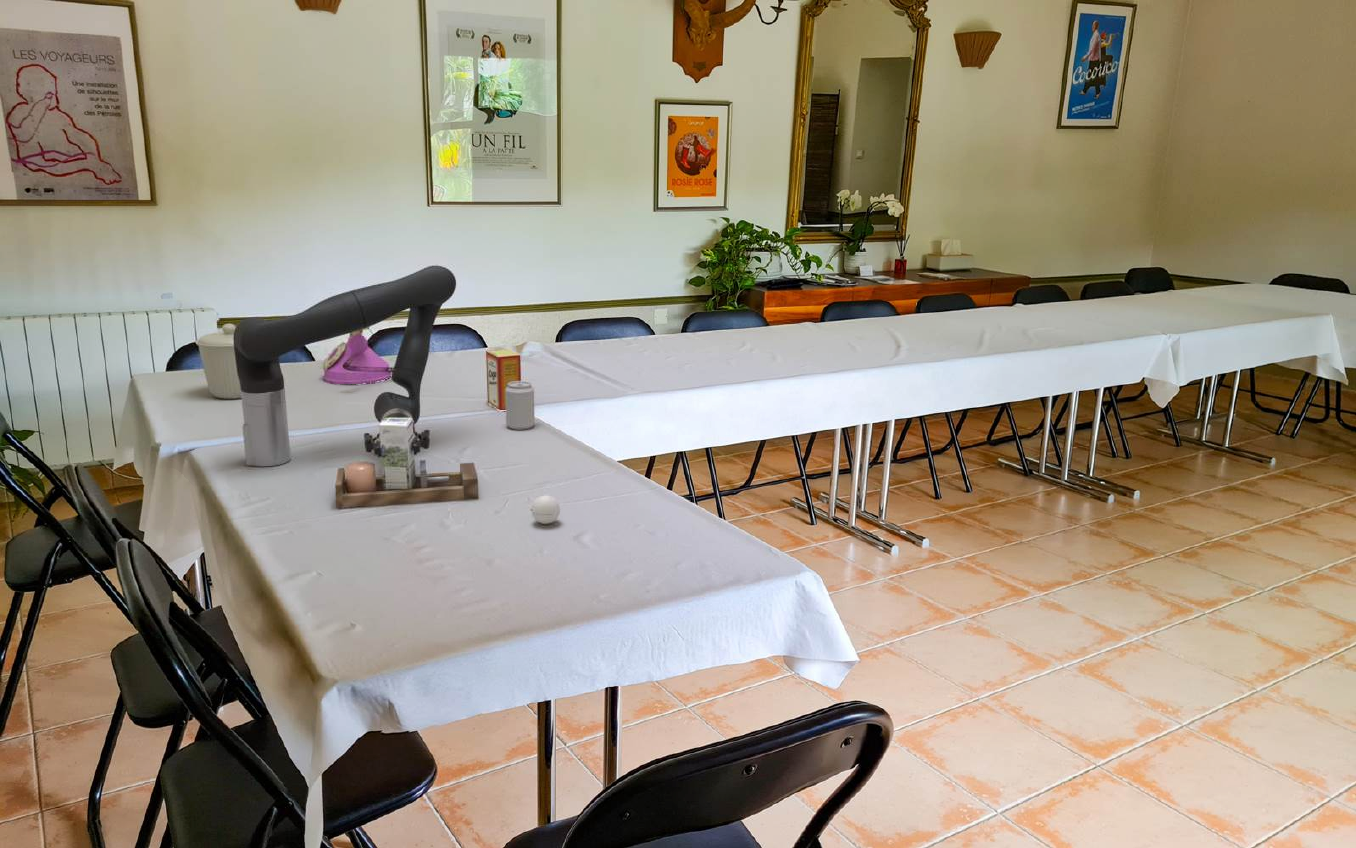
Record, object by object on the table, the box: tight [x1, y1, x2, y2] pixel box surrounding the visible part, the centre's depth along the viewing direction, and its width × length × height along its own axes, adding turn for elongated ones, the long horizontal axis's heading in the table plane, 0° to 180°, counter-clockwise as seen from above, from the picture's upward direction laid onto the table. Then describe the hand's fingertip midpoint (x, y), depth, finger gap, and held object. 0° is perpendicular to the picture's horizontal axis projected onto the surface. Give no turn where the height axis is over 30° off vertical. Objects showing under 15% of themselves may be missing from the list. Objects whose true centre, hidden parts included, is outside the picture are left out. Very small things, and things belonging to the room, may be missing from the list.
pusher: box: [419, 459, 449, 489], centre depth 206 cm, size 6×7×6 cm
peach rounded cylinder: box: [344, 461, 378, 494], centre depth 202 cm, size 6×6×7 cm
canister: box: [194, 323, 242, 400], centre depth 281 cm, size 18×18×21 cm
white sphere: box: [530, 494, 561, 525], centre depth 190 cm, size 8×6×6 cm
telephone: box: [322, 327, 394, 385], centre depth 301 cm, size 36×22×25 cm, turn 25°
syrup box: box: [378, 418, 417, 491], centre depth 203 cm, size 6×6×14 cm
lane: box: [334, 462, 479, 509], centre depth 205 cm, size 28×11×5 cm, turn 106°
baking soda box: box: [485, 348, 522, 410], centre depth 276 cm, size 10×6×16 cm
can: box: [505, 380, 536, 431], centre depth 256 cm, size 8×8×12 cm
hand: (397, 451), depth 200 cm, fingers closed on syrup box, 6 cm apart
